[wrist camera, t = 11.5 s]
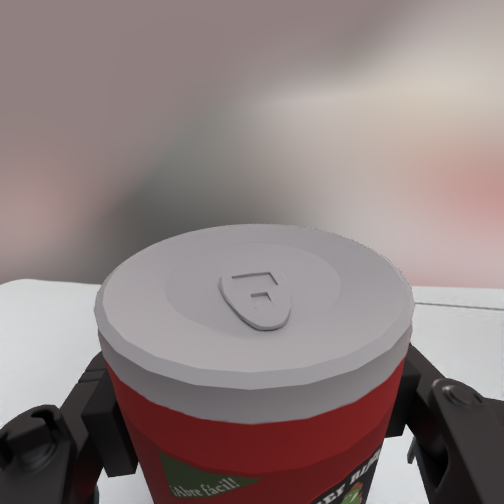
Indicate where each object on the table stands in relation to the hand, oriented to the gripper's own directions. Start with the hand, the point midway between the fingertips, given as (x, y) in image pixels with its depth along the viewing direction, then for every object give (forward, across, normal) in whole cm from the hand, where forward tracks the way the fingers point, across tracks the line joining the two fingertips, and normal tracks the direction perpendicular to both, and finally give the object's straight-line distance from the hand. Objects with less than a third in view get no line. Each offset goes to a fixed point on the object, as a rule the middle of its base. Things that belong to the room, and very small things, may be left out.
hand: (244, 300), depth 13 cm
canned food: (-5, 0, -7) cm, 8 cm away
